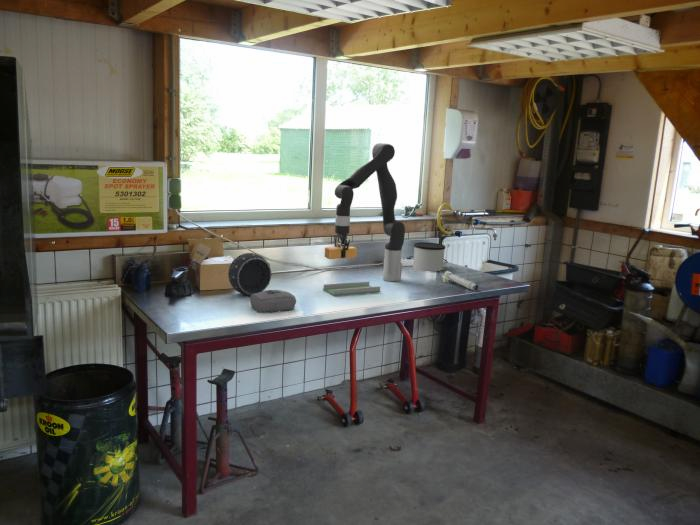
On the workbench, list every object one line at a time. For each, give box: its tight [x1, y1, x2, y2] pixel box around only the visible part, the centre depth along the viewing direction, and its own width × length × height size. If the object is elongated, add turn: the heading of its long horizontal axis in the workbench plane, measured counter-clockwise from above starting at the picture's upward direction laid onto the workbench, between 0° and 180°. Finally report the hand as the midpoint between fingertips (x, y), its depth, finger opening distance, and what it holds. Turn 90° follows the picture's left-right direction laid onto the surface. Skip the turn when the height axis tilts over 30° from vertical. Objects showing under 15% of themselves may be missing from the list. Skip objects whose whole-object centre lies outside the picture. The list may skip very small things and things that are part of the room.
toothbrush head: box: [442, 270, 479, 292], centre depth 325 cm, size 5×7×25 cm
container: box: [412, 241, 446, 272], centre depth 365 cm, size 19×19×15 cm
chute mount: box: [322, 281, 381, 297], centre depth 300 cm, size 26×13×3 cm, turn 118°
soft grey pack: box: [249, 289, 297, 313], centre depth 262 cm, size 15×8×20 cm
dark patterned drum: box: [227, 252, 273, 296], centre depth 282 cm, size 11×20×20 cm, turn 126°
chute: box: [324, 246, 358, 260], centre depth 309 cm, size 16×6×5 cm, turn 118°
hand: (340, 256), depth 309 cm, fingers closed on chute, 4 cm apart
